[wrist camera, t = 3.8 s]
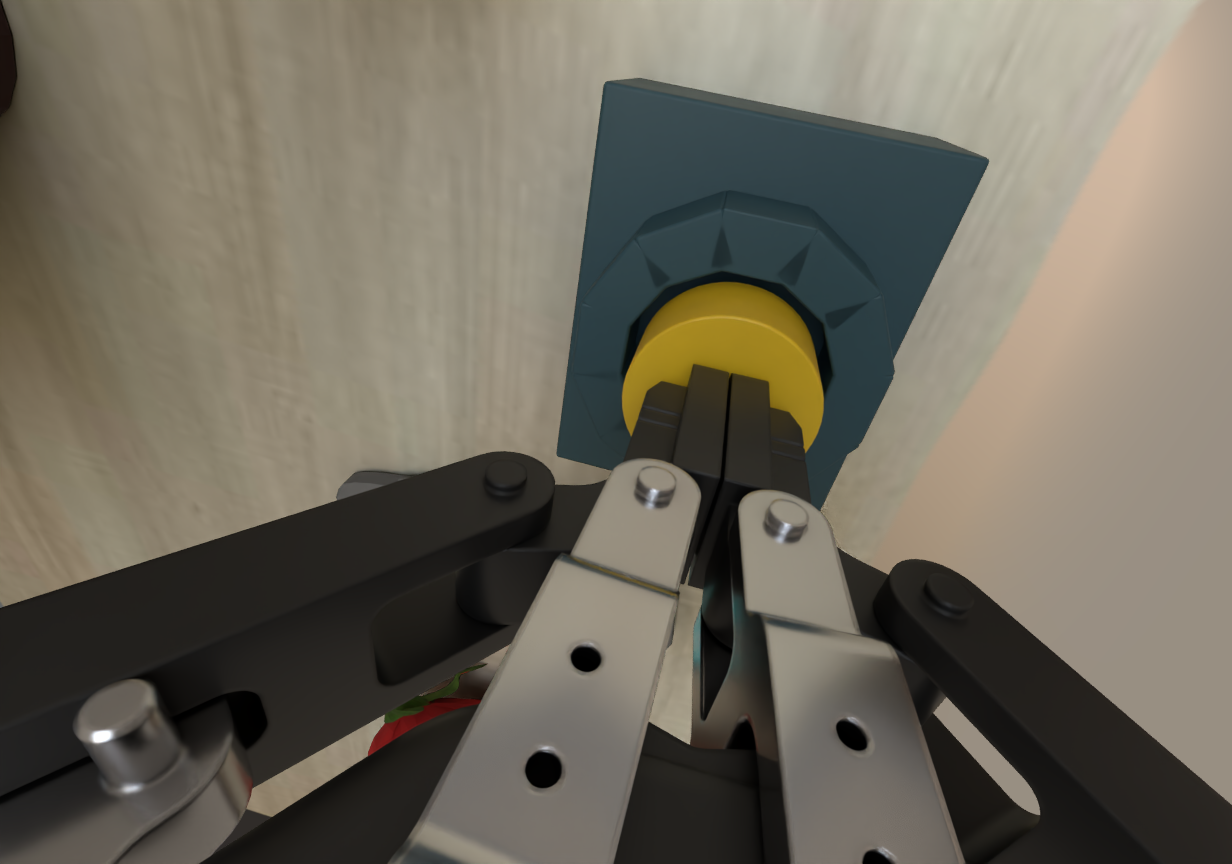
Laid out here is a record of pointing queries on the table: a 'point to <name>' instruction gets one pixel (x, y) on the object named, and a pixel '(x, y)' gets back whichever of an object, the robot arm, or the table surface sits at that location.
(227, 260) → the table surface
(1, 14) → the lantern
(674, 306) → the button
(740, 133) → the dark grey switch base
